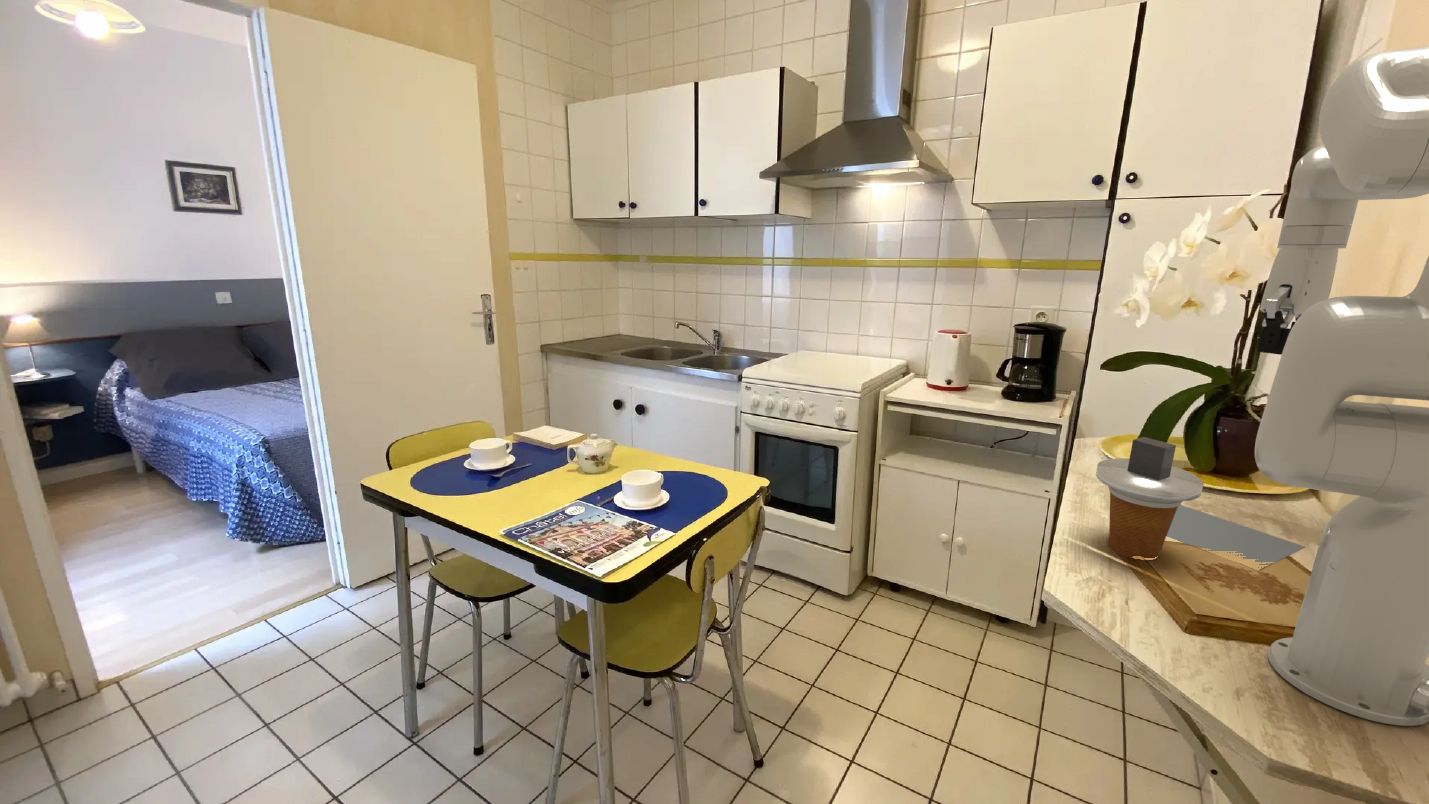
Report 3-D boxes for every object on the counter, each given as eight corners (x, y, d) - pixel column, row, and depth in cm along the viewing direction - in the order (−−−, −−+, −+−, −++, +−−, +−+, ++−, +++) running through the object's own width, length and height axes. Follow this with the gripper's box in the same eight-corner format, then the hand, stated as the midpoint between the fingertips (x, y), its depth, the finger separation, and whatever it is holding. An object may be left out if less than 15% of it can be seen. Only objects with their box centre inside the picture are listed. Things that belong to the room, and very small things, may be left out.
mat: (1304, 550, 93) (1305, 546, 92) (1257, 574, 86) (1258, 570, 86) (1163, 502, 110) (1164, 499, 110) (1115, 519, 103) (1116, 516, 103)
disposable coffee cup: (1099, 560, 91) (1112, 488, 87) (1094, 533, 99) (1106, 467, 95) (1176, 575, 86) (1192, 500, 83) (1164, 546, 94) (1178, 477, 91)
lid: (1219, 489, 86) (1229, 448, 85) (1170, 508, 81) (1180, 464, 79) (1125, 461, 98) (1132, 424, 96) (1077, 476, 92) (1084, 437, 90)
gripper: (1306, 238, 96) (1280, 342, 100) (1253, 239, 88) (1228, 351, 93) (1371, 237, 89) (1340, 348, 94) (1320, 239, 82) (1290, 359, 86)
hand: (1285, 350), depth 93 cm, fingers open, 9 cm apart
